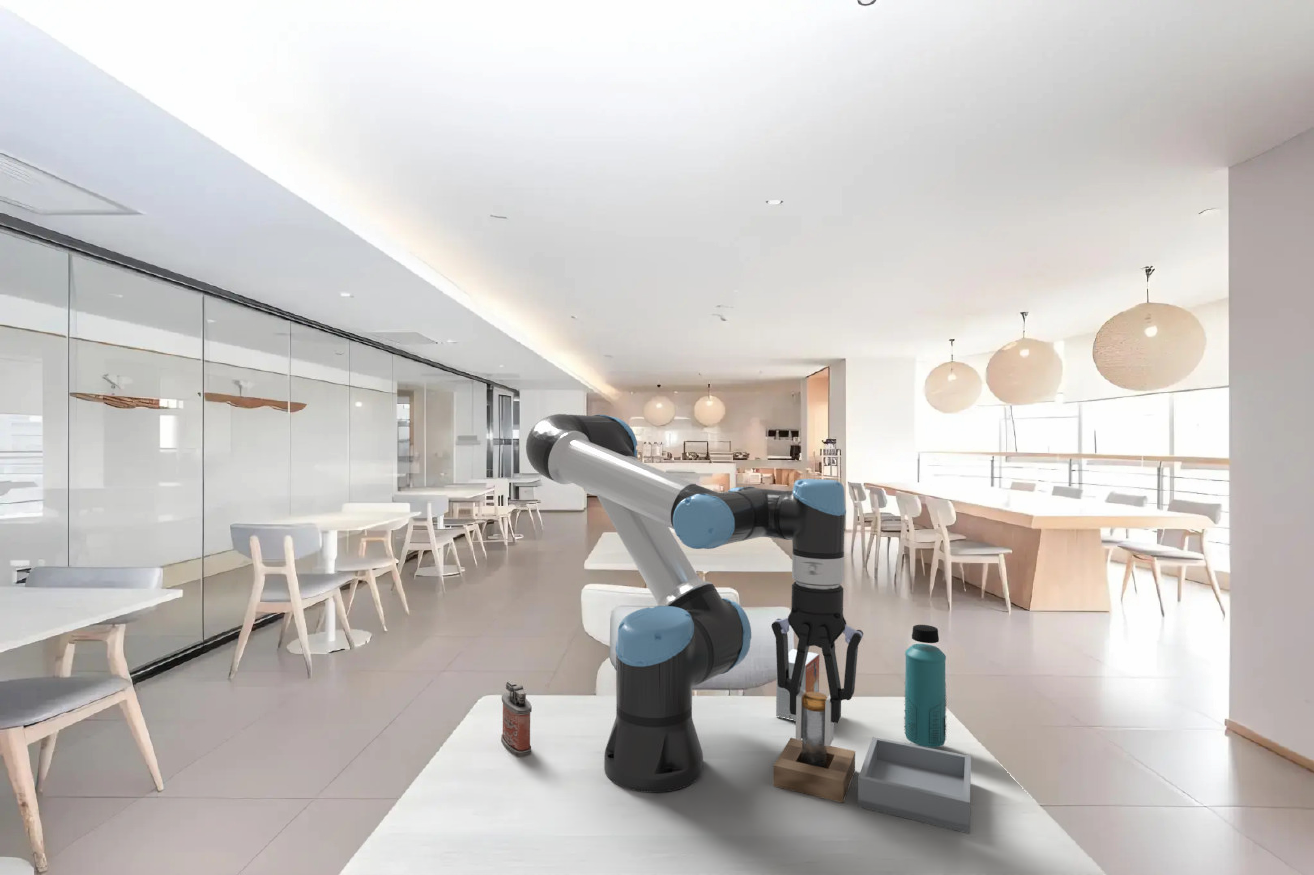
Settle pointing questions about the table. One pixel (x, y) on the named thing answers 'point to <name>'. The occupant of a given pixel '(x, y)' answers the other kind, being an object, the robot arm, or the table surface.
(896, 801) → the tray
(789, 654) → the small box
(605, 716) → the table surface
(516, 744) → the lighter
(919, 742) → the beverage bottle
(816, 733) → the pin
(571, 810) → the table surface
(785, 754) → the block
